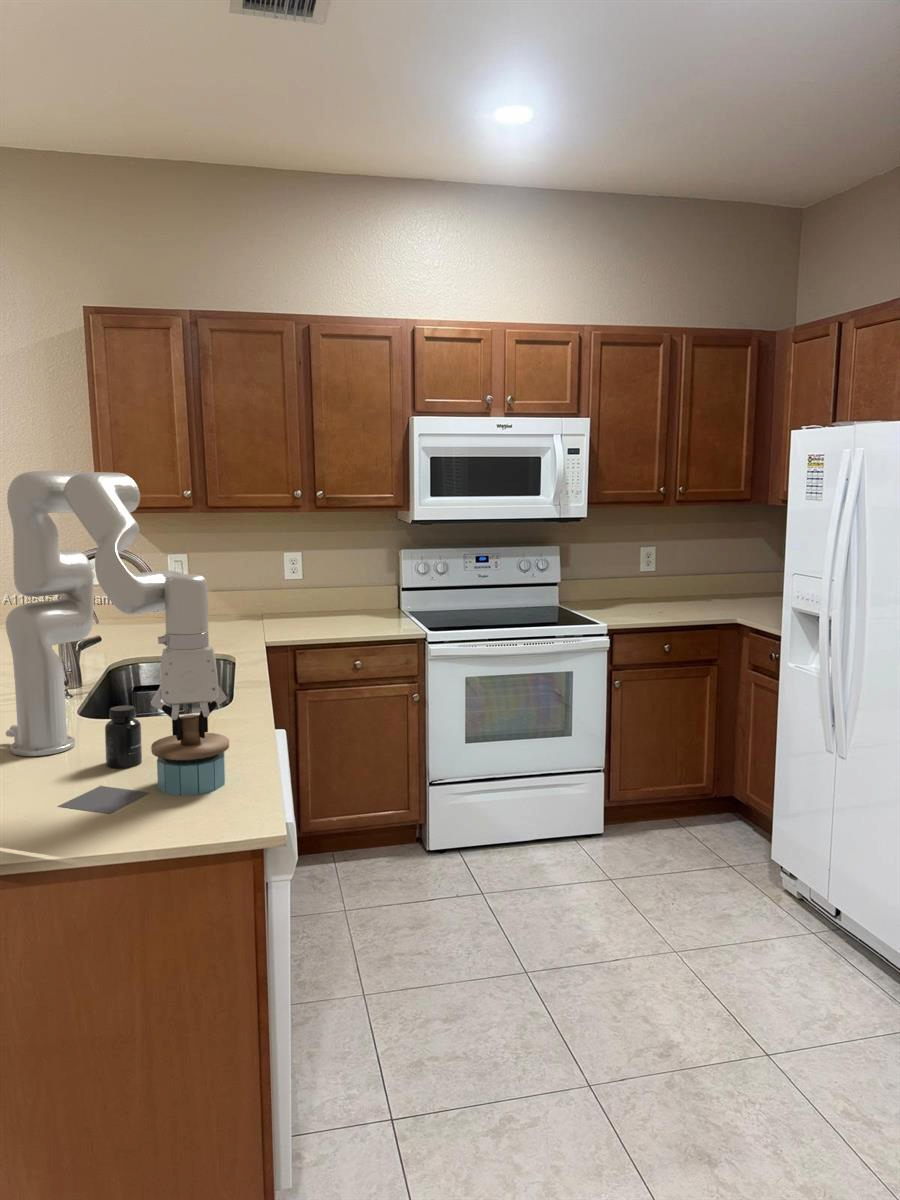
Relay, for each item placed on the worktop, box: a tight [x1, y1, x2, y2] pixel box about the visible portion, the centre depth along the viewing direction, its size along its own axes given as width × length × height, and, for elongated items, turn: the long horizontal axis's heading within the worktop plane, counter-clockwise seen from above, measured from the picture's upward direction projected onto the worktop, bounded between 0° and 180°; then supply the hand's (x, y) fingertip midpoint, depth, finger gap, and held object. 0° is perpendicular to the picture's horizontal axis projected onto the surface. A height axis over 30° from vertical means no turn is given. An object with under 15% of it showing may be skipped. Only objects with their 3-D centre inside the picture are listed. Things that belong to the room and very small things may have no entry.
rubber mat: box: [57, 785, 151, 815], centre depth 154 cm, size 11×11×1 cm
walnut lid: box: [150, 714, 230, 760], centre depth 161 cm, size 14×14×6 cm
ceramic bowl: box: [156, 751, 226, 797], centre depth 162 cm, size 12×12×6 cm
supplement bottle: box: [104, 705, 143, 770], centre depth 173 cm, size 7×7×12 cm
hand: (190, 736), depth 161 cm, fingers closed on walnut lid, 3 cm apart
